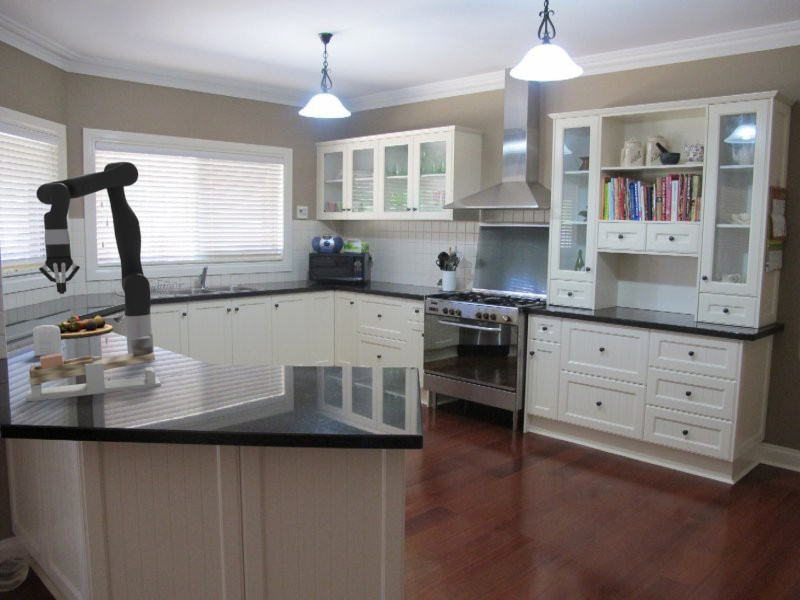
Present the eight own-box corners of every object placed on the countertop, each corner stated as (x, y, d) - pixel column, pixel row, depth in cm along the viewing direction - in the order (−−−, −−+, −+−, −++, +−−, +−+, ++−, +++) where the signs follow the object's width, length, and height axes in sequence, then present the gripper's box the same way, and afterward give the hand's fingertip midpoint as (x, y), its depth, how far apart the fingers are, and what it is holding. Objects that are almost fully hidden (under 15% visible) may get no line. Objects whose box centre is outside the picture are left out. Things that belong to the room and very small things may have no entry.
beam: (152, 355, 225) (148, 334, 223) (155, 359, 217) (151, 338, 215) (32, 379, 210) (27, 357, 209) (30, 385, 202) (25, 363, 201)
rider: (65, 367, 211) (61, 352, 211) (64, 370, 207) (61, 355, 206) (43, 372, 209) (40, 356, 208) (43, 375, 204) (39, 359, 204)
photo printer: (63, 353, 275) (61, 323, 274) (60, 355, 271) (57, 325, 270) (37, 354, 274) (34, 324, 273) (33, 356, 270) (30, 326, 268)
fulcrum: (156, 378, 227) (154, 350, 226) (160, 385, 217) (158, 357, 215) (29, 393, 211) (26, 363, 210) (26, 402, 200) (23, 371, 199)
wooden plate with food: (48, 331, 338) (46, 314, 337) (116, 326, 347) (115, 310, 346) (34, 341, 307) (32, 324, 306) (109, 336, 317) (108, 319, 316)
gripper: (79, 242, 233) (83, 291, 236) (36, 243, 228) (40, 294, 230) (79, 242, 227) (83, 293, 229) (34, 244, 221) (39, 296, 223)
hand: (61, 293), depth 229 cm, fingers closed
